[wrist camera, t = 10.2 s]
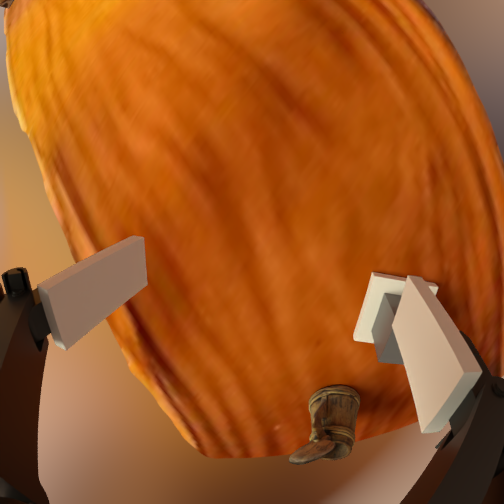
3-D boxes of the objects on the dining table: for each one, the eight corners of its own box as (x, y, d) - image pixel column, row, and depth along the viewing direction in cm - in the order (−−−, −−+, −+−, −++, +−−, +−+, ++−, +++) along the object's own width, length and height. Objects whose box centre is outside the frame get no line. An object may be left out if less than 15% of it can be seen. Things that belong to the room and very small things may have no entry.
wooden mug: (339, 359, 39) (339, 455, 22) (366, 407, 41) (370, 490, 24) (289, 377, 42) (268, 468, 25) (321, 421, 44) (312, 501, 27)
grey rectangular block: (371, 330, 35) (379, 365, 28) (384, 292, 33) (397, 322, 26) (407, 335, 34) (421, 368, 26) (422, 298, 32) (441, 327, 25)
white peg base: (372, 271, 34) (381, 292, 28) (434, 283, 32) (452, 303, 26) (353, 334, 37) (356, 362, 31) (411, 342, 35) (422, 368, 29)
